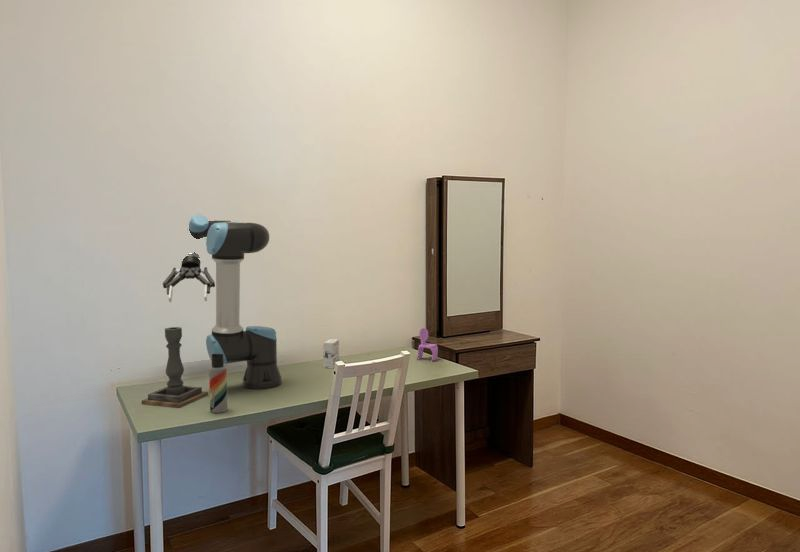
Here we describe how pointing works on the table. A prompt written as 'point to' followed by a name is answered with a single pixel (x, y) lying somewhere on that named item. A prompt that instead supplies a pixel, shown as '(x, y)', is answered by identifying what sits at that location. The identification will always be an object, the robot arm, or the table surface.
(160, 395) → the socket plate
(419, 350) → the toy chair
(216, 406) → the lotion bottle
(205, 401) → the table surface
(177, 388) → the candle holder
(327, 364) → the ink box
